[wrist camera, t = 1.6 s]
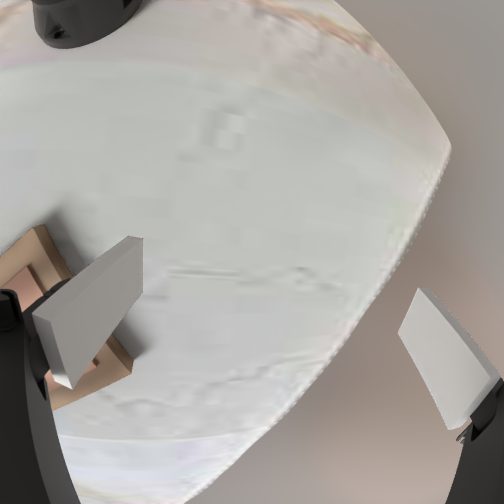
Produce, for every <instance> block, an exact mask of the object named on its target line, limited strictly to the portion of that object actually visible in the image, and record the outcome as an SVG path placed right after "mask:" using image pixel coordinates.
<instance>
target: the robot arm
mask: <svg viewBox="0 0 504 504" xmlns="http://www.w3.org/2000/svg"><path fill="white" fill-rule="evenodd" d="M31 1H32V2H33V13H34V22H35V29H36V31H37V33H38V35H39V36H40V38H41V39H42V40H43V41H44V42H45V43H46V44H47V45H49V46H51V47H54V48H59V49H69V48H76V47H80V46H83V45H87V44H89V43H92V42H94V41H97V40H99V39H101V38H103V37H105V36H106V35H108V34H110V33H111V32H113V31H114V30H116V29H117V28H119V27H120V26H121V25H123V24H124V23H125V22H126V21H127V20H128V19H129V18H130V17H131V16H132V15H133V14H134V13H135V11H136V10H137V9H138V7H139V5H140V3H141V1H142V0H31ZM142 293H143V238H137V237H132V236H127V237H126V238H124V239H123V240H122V241H120V242H119V243H118V244H116V245H115V246H114V247H112V248H111V249H110V250H108V251H107V252H106V253H104V254H103V255H102V256H100V257H99V258H98V259H96V260H95V261H94V262H92V263H91V264H90V265H89V266H87V267H86V268H85V269H83V270H82V271H81V272H80V273H78V274H77V275H76V276H75V277H73V278H67V279H65V280H63V281H60V282H58V283H57V284H55V285H54V286H53V287H52V288H50V289H49V291H47V292H45V293H44V294H43V296H41V297H39V298H38V299H37V300H36V301H35V302H33V303H32V304H31V305H30V306H29V307H28V308H27V309H25V310H24V311H23V312H22V310H21V306H20V303H19V299H18V295H17V293H16V292H15V291H14V290H11V289H0V504H81V503H80V501H79V498H78V496H77V493H76V491H75V488H74V486H73V483H72V480H71V478H70V475H69V472H68V469H67V466H66V463H65V460H64V457H63V453H62V450H61V446H60V443H59V439H58V435H57V431H56V427H55V423H54V418H53V413H52V408H51V403H50V398H49V392H48V385H47V381H46V379H45V375H46V373H47V372H48V371H49V369H50V371H51V373H52V376H53V378H54V381H56V382H58V383H60V384H62V385H64V386H66V387H68V388H70V389H72V390H73V388H74V387H75V385H76V384H77V382H78V381H79V379H80V378H81V376H82V375H83V373H84V372H85V370H86V369H87V367H88V366H89V364H90V363H91V362H92V360H93V359H94V357H95V356H96V354H97V353H98V352H99V350H100V349H101V347H102V346H103V345H104V343H105V342H106V340H107V339H108V338H109V336H110V335H111V334H112V332H113V331H114V329H115V328H116V327H117V325H118V324H119V323H120V321H121V320H122V319H123V317H124V316H125V315H126V313H127V312H128V311H129V309H130V308H131V307H132V305H133V304H134V303H135V302H136V300H137V299H138V298H139V296H140V295H141V294H142ZM398 334H399V336H400V338H401V339H402V341H403V343H404V345H405V347H406V348H407V350H408V352H409V354H410V355H411V357H412V359H413V361H414V362H415V365H416V366H417V368H418V370H419V372H420V374H421V376H422V378H423V380H424V381H425V383H426V385H427V387H428V389H429V391H430V393H431V395H432V397H433V399H434V401H435V403H436V405H437V407H438V409H439V411H440V414H441V415H442V418H443V420H444V422H445V424H446V426H447V429H448V430H450V429H454V428H458V427H461V426H462V425H463V424H464V423H465V421H466V420H467V419H468V418H469V417H470V418H471V419H472V422H471V424H470V425H469V426H468V427H467V428H466V429H465V430H464V431H463V432H462V433H461V434H460V435H459V436H458V437H457V439H456V441H459V440H460V439H461V438H462V437H465V438H464V439H463V440H462V441H461V443H462V444H464V445H463V449H462V453H461V457H460V461H459V464H458V468H457V471H456V474H455V478H454V481H453V484H452V487H451V490H450V492H449V495H448V498H447V501H446V503H445V504H504V381H503V379H502V378H501V375H500V373H499V372H498V370H497V369H496V368H495V366H494V365H493V364H492V363H491V361H490V360H489V358H488V357H487V356H486V354H484V352H483V351H482V350H481V348H480V347H479V346H478V344H477V343H476V342H475V341H474V339H473V338H472V337H471V336H470V334H469V333H468V332H467V331H466V330H465V328H463V326H462V325H461V324H460V323H459V322H458V320H457V319H456V318H455V317H454V316H453V315H452V314H451V312H450V311H449V310H448V309H447V308H446V307H445V306H444V304H443V303H441V301H440V300H439V299H438V298H437V297H436V296H435V295H434V294H433V293H432V292H431V290H430V289H426V288H420V287H418V289H417V291H416V294H415V296H414V298H413V301H412V303H411V305H410V307H409V310H408V312H407V314H406V316H405V319H404V321H403V323H402V325H401V327H400V329H399V331H398Z"/></svg>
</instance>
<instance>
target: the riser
mask: <svg viewBox="0 0 504 504" xmlns="http://www.w3.org/2000/svg"><path fill="white" fill-rule="evenodd" d="M67 278H73V276H72V274H71V272H70V271H69V269H68V267H67V266H66V264H65V262H64V260H63V259H62V257H61V255H60V253H59V252H58V250H57V248H56V246H55V244H54V242H53V241H52V239H51V237H50V235H49V233H48V231H47V229H46V227H45V225H40V226H36V227H33V228H32V229H31V230H29V231H28V232H27V233H26V234H25V235H24V236H23V237H21V238H20V239H19V240H18V241H17V242H16V243H15V244H14V245H13V246H12V247H11V248H10V249H8V250H7V251H6V252H5V253H4V254H3V255H2V256H1V257H0V289H11V290H14V291H15V292H16V293H17V295H18V299H19V303H20V306H21V310H22V312H23V311H24V310H25V309H27V308H28V307H29V306H30V305H31V304H32V303H33V302H35V301H36V300H37V299H38V298H39V297H41V296H43V294H44V293H45V292H47V291H49V289H50V288H52V287H53V286H54V285H55V284H57V283H58V282H60V281H63V280H65V279H67ZM133 362H134V360H133V359H132V358H131V357H130V355H129V354H128V353H127V352H126V351H125V349H124V348H123V347H122V346H121V344H120V343H119V342H118V340H117V339H116V338H115V337H114V335H113V334H111V335H110V336H109V338H108V339H107V340H106V342H105V343H104V345H103V346H102V347H101V349H100V350H99V352H98V353H97V354H96V356H95V357H94V359H93V360H92V362H91V363H90V364H89V366H88V367H87V369H86V370H85V372H84V373H83V375H82V376H81V378H80V379H79V381H78V382H77V384H76V385H75V387H74V388H73V390H72V389H70V388H68V387H66V386H64V385H62V384H60V383H58V382H56V381H54V378H53V376H52V373H51V371H50V369H49V371H48V372H47V373H46V375H45V379H46V381H47V385H48V392H49V398H50V403H51V408H52V411H54V410H56V409H58V408H60V407H63V406H65V405H67V404H69V403H72V402H74V401H76V400H78V399H80V398H82V397H84V396H87V395H89V394H91V393H93V392H95V391H97V390H99V389H101V388H103V387H105V386H108V385H110V384H112V383H114V382H116V381H118V380H120V379H122V378H124V377H126V376H128V375H130V374H131V372H132V367H133Z"/></svg>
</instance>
